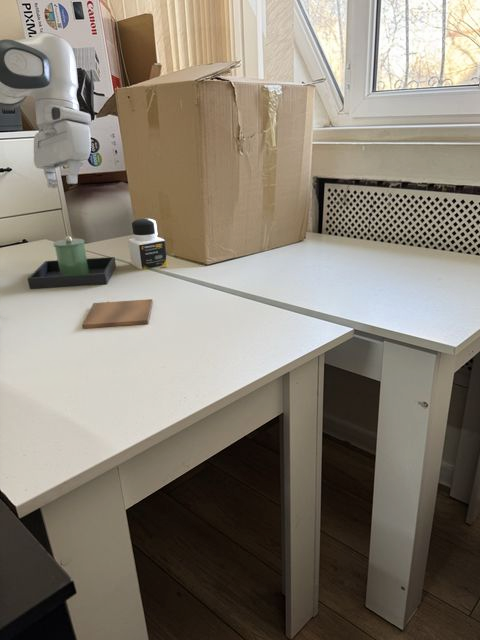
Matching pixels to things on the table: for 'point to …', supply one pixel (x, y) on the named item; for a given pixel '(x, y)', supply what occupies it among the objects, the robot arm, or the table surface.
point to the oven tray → (51, 275)
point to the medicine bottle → (146, 245)
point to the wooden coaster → (118, 313)
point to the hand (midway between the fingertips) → (62, 185)
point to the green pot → (71, 256)
